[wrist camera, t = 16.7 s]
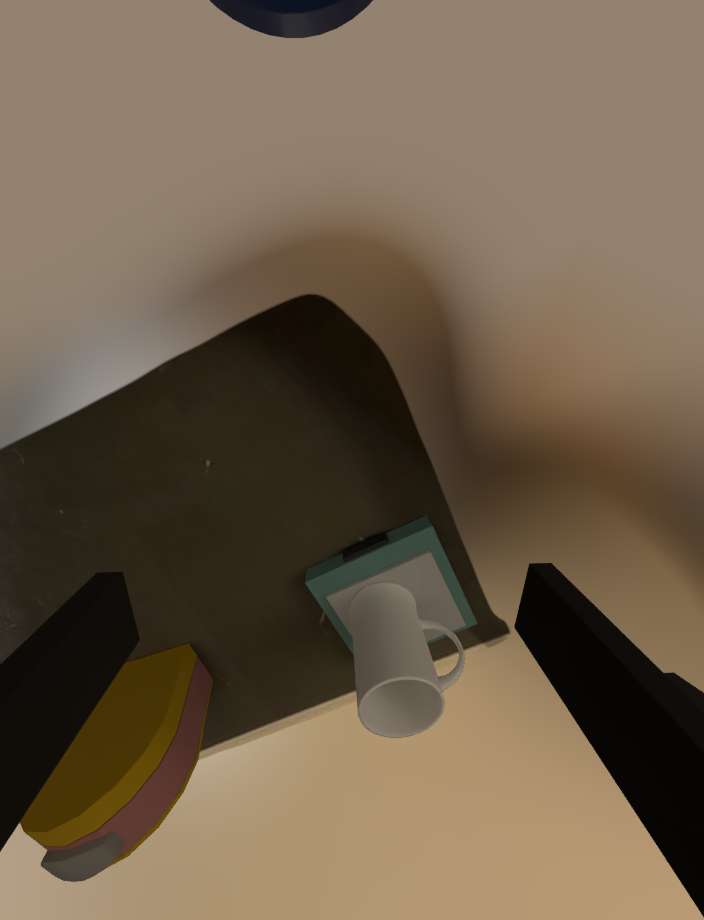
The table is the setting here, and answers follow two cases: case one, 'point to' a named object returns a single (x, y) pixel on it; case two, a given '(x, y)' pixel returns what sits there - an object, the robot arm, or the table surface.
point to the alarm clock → (123, 766)
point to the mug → (396, 662)
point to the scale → (393, 578)
